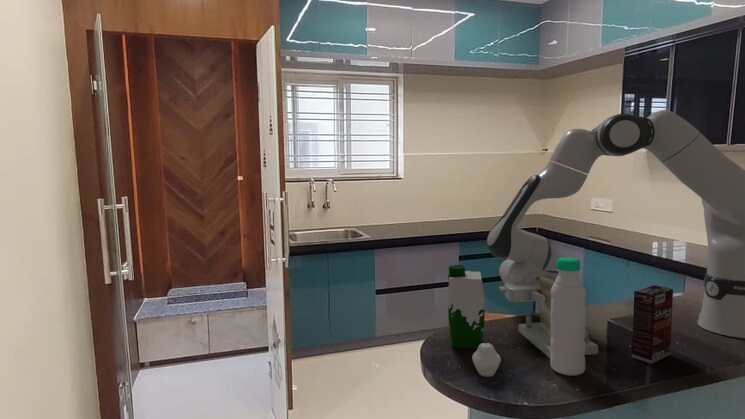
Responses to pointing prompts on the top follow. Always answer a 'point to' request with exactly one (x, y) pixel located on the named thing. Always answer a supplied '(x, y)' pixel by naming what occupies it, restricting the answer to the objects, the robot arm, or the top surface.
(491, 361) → the white bulb shape
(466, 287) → the milk carton
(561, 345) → the water bottle
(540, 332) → the peg rest
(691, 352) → the top surface
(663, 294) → the supplement box
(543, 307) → the upright wooden block
